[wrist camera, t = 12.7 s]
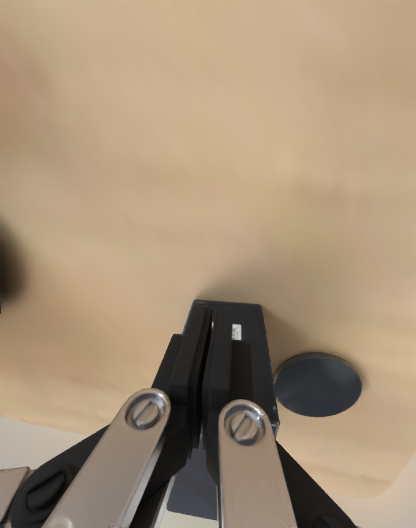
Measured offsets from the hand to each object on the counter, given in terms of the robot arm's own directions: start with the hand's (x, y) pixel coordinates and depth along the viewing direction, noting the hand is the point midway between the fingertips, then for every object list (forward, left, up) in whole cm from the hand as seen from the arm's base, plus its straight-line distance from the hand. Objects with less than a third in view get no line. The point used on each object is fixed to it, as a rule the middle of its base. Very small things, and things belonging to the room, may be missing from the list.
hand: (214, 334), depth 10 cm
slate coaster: (-9, +13, -10) cm, 19 cm away
